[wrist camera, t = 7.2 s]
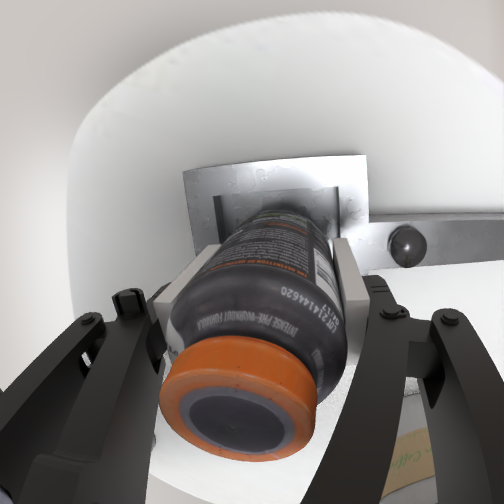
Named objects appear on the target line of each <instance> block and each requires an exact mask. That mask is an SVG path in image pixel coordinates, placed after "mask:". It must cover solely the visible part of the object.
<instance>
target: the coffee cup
mask: <svg viewBox="0 0 504 504" xmlns="http://www.w3.org/2000/svg"><path fill="white" fill-rule="evenodd" d="M379 504H438V498H437V487H436V478H435V470H434V462H433V455H432V449H431V443H430V437H429V432H428V426H427V421H426V416H425V412H424V407H423V403H422V398H421V394H414V395H409V396H406V397H403V403H402V410H401V416H400V422H399V427H398V433H397V438H396V442H395V447H394V452H393V456H392V460H391V464H390V468H389V472H388V476H387V480H386V483H385V487H384V490H383V493H382V497H381V500H380V503H379Z"/></svg>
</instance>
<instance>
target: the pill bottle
mask: <svg viewBox="0 0 504 504" xmlns="http://www.w3.org/2000/svg"><path fill="white" fill-rule="evenodd" d="M166 344H167V350H168V354H169V357H170V360H171V363H172V367H171V370H170V372H169V374H168V376H167V378H166V379H165V381H164V383H163V385H162V387H161V389H160V393H159V405H160V409H161V412H162V414H163V416H164V418H165V420H166V421H167V423H168V424H169V425H170V426H171V428H172V429H173V430H174V431H175V432H176V433H177V434H179V435H180V436H181V437H182V438H184V439H185V440H186V441H188V442H189V443H191V444H193V445H194V446H196V447H198V448H200V449H202V450H204V451H206V452H209V453H211V454H213V455H217V456H220V457H224V458H228V459H233V460H238V461H249V462H264V461H273V460H278V459H282V458H285V457H288V456H290V455H292V454H294V453H296V452H298V451H299V450H301V449H302V448H304V447H305V446H306V445H307V443H308V442H309V441H310V439H311V438H312V436H313V433H314V429H315V418H316V407H317V405H318V404H319V403H321V402H322V401H323V400H324V399H325V398H326V397H327V396H328V395H329V394H330V393H331V392H332V391H333V390H334V388H335V387H336V386H337V384H338V382H339V381H340V379H341V377H342V375H343V372H344V369H345V366H346V361H347V354H348V342H347V336H346V330H345V324H344V318H343V312H342V306H341V300H340V294H339V289H338V284H337V279H336V274H335V269H334V264H333V259H332V254H331V250H330V246H329V244H328V241H327V239H326V237H325V236H324V234H323V233H322V231H321V230H320V229H319V228H318V227H317V226H316V225H315V224H314V223H313V222H312V221H310V220H309V219H307V218H306V217H304V216H302V215H299V214H297V213H294V212H291V211H286V210H268V211H263V212H260V213H258V214H256V215H253V216H251V217H249V218H248V219H246V220H244V221H243V222H242V223H241V224H240V225H239V226H238V227H237V228H236V229H235V230H234V231H233V233H232V234H231V235H230V236H229V238H228V239H227V240H226V241H225V243H224V244H223V245H222V246H221V247H220V249H219V250H218V251H217V252H216V253H215V254H214V256H213V257H212V258H211V259H210V260H209V262H208V263H207V264H206V265H205V267H204V268H203V269H202V270H201V271H200V273H198V275H197V276H196V278H195V279H194V280H193V281H192V282H191V284H190V285H189V286H188V288H187V289H186V290H185V291H184V293H183V294H182V295H181V296H180V297H179V298H178V300H177V302H176V303H175V305H174V307H173V309H172V311H171V314H170V317H169V320H168V324H167V331H166Z"/></svg>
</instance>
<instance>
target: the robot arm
mask: <svg viewBox="0 0 504 504" xmlns="http://www.w3.org/2000/svg"><path fill="white" fill-rule="evenodd" d="M221 246H222V244H216V245H208V246H207V247H206V248H205V249H204V250H203V251H202V252H201V253H200V254H199V255H198V256H197V257H196V258H195V259H194V260H193V261H192V262H191V263H190V264H189V265H188V266H187V267H186V268H185V269H184V270H183V271H182V272H181V273H180V274H179V275H178V276H177V277H176V279H175V280H174V281H173V282H169V283H168V284H166V285H164V286H162V287H161V288H160V289H159V290H158V291H157V292H156V293H155V294H154V295H153V296H152V298H150V299H149V300H148V301H147V302H146V301H145V298H144V294H143V291H142V290H141V289H138V288H130V289H125V290H123V291H120V292H118V293H116V294H115V295H114V296H113V297H112V300H113V303H114V306H115V309H116V312H117V315H118V316H117V318H116V320H115V321H113V322H104V320H103V318H102V315H101V314H100V313H97V312H93V313H92V312H89V313H86V314H84V315H83V316H81V317H79V318H78V319H76V320H75V321H74V322H73V323H72V324H71V325H70V326H69V327H68V328H67V329H66V330H65V331H64V332H63V333H62V334H60V335H59V336H58V337H57V338H56V339H55V340H54V341H53V342H52V343H51V344H50V345H49V346H48V347H47V348H46V349H45V350H44V351H43V352H42V353H41V354H40V355H39V356H38V357H37V358H36V359H35V360H34V361H33V362H32V363H31V364H30V365H29V366H28V367H27V368H26V369H25V370H24V371H23V372H22V373H21V374H20V375H19V376H18V377H17V378H16V379H15V380H14V381H13V383H12V384H11V385H10V386H9V387H8V388H7V389H6V390H5V391H4V392H3V391H2V390H1V389H0V504H145V499H146V489H147V480H148V472H149V464H150V456H151V452H152V450H153V448H154V446H155V443H156V440H155V436H154V428H155V421H156V415H157V409H158V403H159V393H160V389H161V386H162V380H163V375H164V370H165V360H164V357H163V354H164V353H165V351H166V350H167V344H166V331H167V324H168V320H169V317H170V314H171V311H172V309H173V307H174V305H175V303H176V302H177V300H178V298H179V297H180V296H181V295H182V294H183V293H184V291H185V290H186V289H187V288H188V286H189V285H190V284H191V282H192V281H193V280H194V279H195V278H196V276H197V275H198V273H200V271H201V270H202V269H203V268H204V267H205V265H206V264H207V263H208V262H209V260H210V259H211V258H212V257H213V256H214V254H215V253H216V252H217V251H218V250H219V249H220V247H221ZM332 247H333V264H334V269H335V274H336V279H337V284H338V289H339V294H340V300H341V306H342V312H343V318H344V324H345V330H346V336H347V342H348V354H347V361H346V365H357V367H356V370H355V373H354V377H353V380H352V383H351V386H350V389H349V392H348V395H347V397H346V400H345V403H344V406H343V409H342V411H341V414H340V417H339V419H338V422H337V425H336V427H335V430H334V432H333V435H332V437H331V440H330V442H329V444H328V447H327V449H326V451H325V454H324V456H323V458H322V460H321V463H320V465H319V467H318V469H317V471H316V473H315V476H314V478H313V480H312V482H311V484H310V486H309V488H308V490H307V492H306V494H305V496H304V498H303V499H302V501H301V503H300V504H379V503H380V500H381V497H382V493H383V490H384V487H385V483H386V480H387V476H388V472H389V468H390V464H391V460H392V456H393V452H394V447H395V442H396V438H397V433H398V427H399V422H400V416H401V410H402V403H403V396H404V388H405V380H406V377H414V378H417V382H418V386H419V390H420V394H421V398H422V403H423V407H424V412H425V416H426V421H427V426H428V432H429V437H430V443H431V449H432V455H433V462H434V470H435V478H436V487H437V498H438V504H504V382H503V380H502V378H501V376H500V374H499V372H498V370H497V368H496V366H495V364H494V362H493V361H492V359H491V357H490V355H489V353H488V352H487V350H486V348H485V346H484V345H483V343H482V341H481V340H480V338H479V336H478V335H477V333H476V331H475V330H474V328H473V326H472V325H471V323H470V322H469V320H468V319H467V317H466V316H465V315H464V314H463V313H461V312H459V311H458V310H455V309H451V308H449V309H446V308H444V309H439V310H437V311H435V312H434V313H433V315H432V319H431V321H429V320H419V319H414V318H411V317H410V314H409V311H408V310H407V309H406V308H405V307H403V306H401V305H398V304H397V303H396V301H395V299H394V297H393V295H392V293H391V292H390V289H389V287H388V285H387V283H386V281H385V280H384V279H383V278H381V277H380V276H378V275H369V276H361V273H360V271H359V268H358V265H357V263H356V260H355V258H354V255H353V253H352V250H351V248H350V245H349V243H348V240H347V238H332ZM84 352H86V354H87V356H88V358H89V360H90V362H91V364H90V365H89V366H88V367H87V366H86V364H85V362H84V360H83V358H82V354H83V353H84Z"/></svg>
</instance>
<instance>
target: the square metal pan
mask: <svg viewBox="0 0 504 504" xmlns="http://www.w3.org/2000/svg"><path fill="white" fill-rule="evenodd" d="M183 178H184V185H185V192H186V199H187V205H188V211H189V217H190V223H191V229H192V235H193V241H194V247H195V252H196V257H197V256H198V255H199V254H200V253H201V252H202V251H203V250H204V249H205V248H206V247H207V246H208V245H216V244H222V245H223V244H224V243H225V241H226V240H227V239H228V238H229V236H230V235H231V234H232V233H233V231H234V230H235V229H236V228H237V227H238V226H239V225H240V224H241V223H242V222H243V221H244V220H246V219H248V218H249V217H251V216H253V215H256V214H258V213H260V212H263V211H268V210H286V211H291V212H294V213H297V214H299V215H302V216H304V217H306V218H307V219H309V220H310V221H312V222H313V223H314V224H315V225H316V226H317V227H318V228H319V229H320V230H321V231H322V233H323V234H324V236H325V237H326V239H327V241H328V244H329V246H330V250H331V254H332V259H333V247H332V238H347V240H348V243H349V245H350V248H351V250H352V253H353V255H354V258H355V260H356V263H357V265H358V268H359V271H360V273H361V276H368V270H371V269H388V268H411V267H419V266H433V265H447V264H460V263H472V262H484V261H496V260H504V213H435V214H394V215H369V207H368V180H367V163H366V155H337V156H317V157H301V158H287V159H276V160H265V161H255V162H246V163H237V164H229V165H221V166H214V167H207V168H200V169H193V170H189V171H184V172H183Z"/></svg>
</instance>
